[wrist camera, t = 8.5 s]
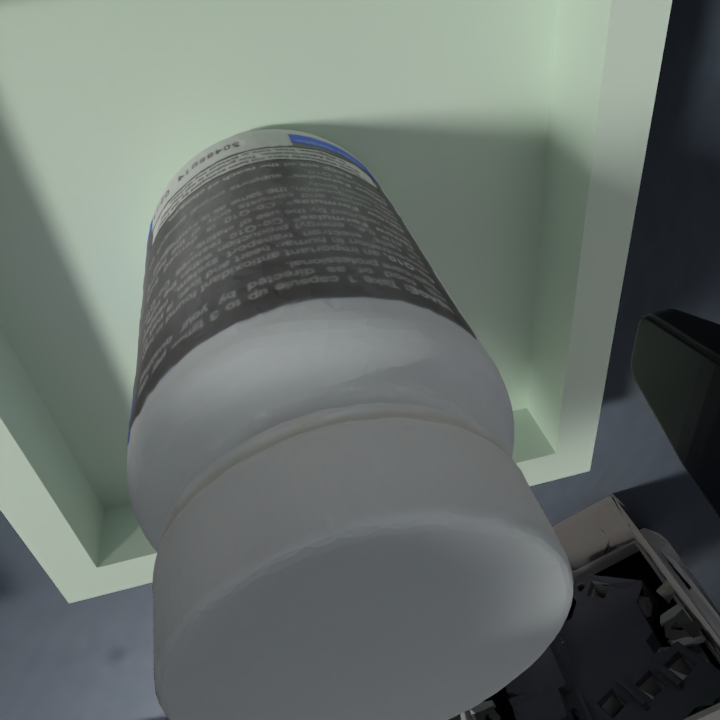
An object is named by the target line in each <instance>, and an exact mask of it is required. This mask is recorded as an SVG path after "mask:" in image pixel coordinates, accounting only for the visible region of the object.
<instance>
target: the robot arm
mask: <svg viewBox="0 0 720 720" xmlns="http://www.w3.org/2000/svg"><path fill="white" fill-rule="evenodd" d="M631 370H632V374H633V377H634V379H635V381H636V383H637V384H638V386H639V388H640V390H641V392H642V393H643V395H644V397H645V399H646V400H647V402H648V404H649V406H650V408H651V409H652V411H653V413H654V415H655V417H656V418H657V420H658V422H659V424H660V426H661V427H662V429H663V431H664V433H665V435H666V436H667V438H668V440H669V442H670V443H671V445H672V447H673V449H674V451H675V452H676V454H677V456H678V457H679V459H680V461H681V462H682V464H683V466H684V467H685V469H686V470H687V472H688V473H689V475H690V476H691V478H692V479H693V480H694V482H695V483H696V485H697V486H698V488H699V489H700V490H701V492H702V493H703V495H704V496H705V497H706V499H707V500H708V502H709V503H710V504H711V506H712V507H713V509H714V510H715V511H716V513H717V514H718V516H719V517H720V324H717V323H714V322H711V321H708V320H705V319H702V318H699V317H696V316H693V315H690V314H687V313H684V312H681V311H679V310H675V309H666V310H662V311H657V312H653V313H649V314H646V315H644V316H643V317H642V318H641V319H640V321H639V324H638V328H637V333H636V338H635V343H634V348H633V352H632V357H631Z"/></svg>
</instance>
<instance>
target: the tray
mask: <svg viewBox="0 0 720 720" xmlns="http://www.w3.org/2000/svg"><path fill="white" fill-rule="evenodd" d="M671 5H672V0H0V510H1V511H2V513H3V514H4V516H5V517H6V518H7V520H8V521H9V522H10V524H11V525H12V526H13V528H14V529H15V531H16V532H17V533H18V535H19V536H20V537H21V539H22V540H23V541H24V543H25V544H26V545H27V547H28V548H29V550H30V551H31V552H32V554H33V555H34V556H35V558H36V559H37V560H38V562H39V563H40V565H41V566H42V567H43V569H44V570H45V571H46V573H47V574H48V575H49V577H50V578H51V580H52V581H53V582H54V584H55V585H56V586H57V588H58V589H59V590H60V592H61V593H62V594H63V596H64V597H65V599H66V600H67V601H68V603H73V602H77V601H81V600H85V599H89V598H92V597H96V596H100V595H104V594H108V593H112V592H116V591H120V590H124V589H128V588H132V587H136V586H140V585H144V584H147V583H151V582H153V571H154V565H155V560H156V556H157V551H156V550H155V549H154V548H153V547H152V546H151V544H150V543H149V541H148V540H147V538H146V537H145V535H144V533H143V531H142V529H141V527H140V525H139V523H138V521H137V519H136V517H135V514H134V511H133V508H132V505H131V501H130V496H129V490H128V478H127V441H128V431H129V421H130V416H131V407H132V398H133V387H134V380H135V375H136V363H137V353H138V351H137V349H138V338H139V322H140V315H141V308H142V299H143V281H144V276H145V262H146V252H147V241H148V235H149V230H150V224H151V221H152V217H153V214H154V211H155V208H156V206H157V203H158V201H159V199H160V197H161V195H162V193H163V191H164V189H165V188H166V186H167V184H168V183H169V182H170V180H171V179H172V178H173V177H174V176H175V175H176V173H177V172H178V171H179V170H180V169H181V168H182V167H183V166H184V165H185V164H186V163H187V162H188V161H189V160H191V159H192V158H193V157H195V156H196V155H197V154H199V153H200V152H201V151H203V150H205V149H206V148H208V147H210V146H212V145H213V144H215V143H217V142H219V141H221V140H224V139H226V138H229V137H231V136H234V135H236V134H240V133H244V132H248V131H252V130H264V129H283V130H294V131H301V132H305V133H309V134H313V135H316V136H318V137H321V138H324V139H326V140H329V141H331V142H333V143H335V144H337V145H338V146H340V147H342V148H343V149H345V150H347V151H348V152H349V153H351V154H352V155H354V156H355V157H356V158H357V159H358V160H360V161H361V162H362V164H363V165H364V166H365V167H366V168H367V169H368V170H369V171H370V172H371V173H372V175H373V176H374V177H375V178H376V180H377V181H378V183H379V184H380V186H381V188H382V189H383V191H384V192H385V194H386V195H387V197H388V198H389V200H390V201H391V203H392V204H393V206H394V208H395V209H396V210H397V211H398V212H399V214H400V215H401V216H402V219H403V221H404V223H405V224H406V226H407V228H408V229H409V231H410V232H411V234H412V235H413V237H414V238H415V240H416V242H417V243H418V245H419V246H420V248H421V249H422V251H423V252H424V254H425V256H426V257H427V259H428V260H429V262H430V264H431V265H432V267H433V268H434V270H435V272H436V273H437V275H438V276H439V278H440V280H441V281H442V283H443V284H444V286H445V287H446V289H447V291H448V292H449V294H450V295H451V297H452V299H453V300H454V302H455V303H456V305H457V307H458V308H459V310H460V311H461V313H462V314H463V316H464V317H465V319H466V320H467V322H468V323H469V325H470V326H471V328H472V329H473V331H474V332H475V334H476V335H477V337H478V339H479V341H480V342H481V344H482V345H483V347H484V348H485V350H486V351H487V353H488V354H489V356H490V357H491V359H492V360H493V362H494V363H495V365H496V366H497V368H498V369H499V372H500V374H501V377H502V379H503V381H504V383H505V386H506V389H507V391H508V394H509V398H510V401H511V405H512V411H513V417H514V446H513V454H512V459H513V461H514V462H515V463H516V465H517V466H518V467H519V468H520V470H521V471H522V473H523V475H524V477H525V479H526V481H527V483H528V485H529V486H533V485H537V484H541V483H545V482H548V481H552V480H556V479H560V478H564V477H568V476H572V475H576V474H580V473H584V472H588V471H590V467H591V461H592V456H593V450H594V444H595V439H596V433H597V427H598V421H599V416H600V410H601V404H602V399H603V393H604V387H605V382H606V376H607V370H608V364H609V359H610V353H611V347H612V342H613V336H614V330H615V325H616V319H617V313H618V307H619V302H620V296H621V290H622V285H623V279H624V273H625V268H626V262H627V256H628V250H629V245H630V239H631V233H632V228H633V222H634V216H635V211H636V205H637V199H638V193H639V188H640V182H641V176H642V171H643V165H644V159H645V154H646V148H647V142H648V136H649V131H650V125H651V119H652V114H653V108H654V102H655V97H656V91H657V85H658V79H659V74H660V68H661V62H662V57H663V51H664V45H665V40H666V34H667V28H668V22H669V17H670V11H671Z"/></svg>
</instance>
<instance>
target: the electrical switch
mask: <svg viewBox="0 0 720 720" xmlns="http://www.w3.org/2000/svg"><path fill="white" fill-rule="evenodd" d="M612 496H613V495H612ZM613 498H614V497H613ZM614 499H615V498H614ZM615 501H616V503H617V505H618V507H619V509H620V510H619V509H618V507H617V506H616V504H615V502H614V501H613V499H612V498H611V496H608V497H606V498H604V499H602V500H600V501H599V502H597V503H595V504H593V505H591V506H589V507H587V508H585V509H584V510H582V511H580V512H578V513H576V514H574V515H572V516H570V517H569V518H567V519H565V520H563V521H561V522H559V523H557V524H555V525H554V526H552V528H553V530H554V531H555V533H556V535H557V537H558V539H559V541H560V543H561V545H562V547H563V548H564V550H565V552H566V555H567V558H568V561H569V564H570V566H571V569H572V577H573V599H572V604H571V608H570V610H569V613H568V616H567V618H566V620H565V622H564V624H563V626H562V628H561V630H560V631H559V633H558V634H557V635H556V638H555V639H554V640H553V641H552V643H551V644H550V645H549V646H548V647H547V649H546V650H545V651H544V652H543V654H542V655H541V656H540V657H539V658H538V659H537V660H536V661H535V662H534V663H533V664H532V665H531V666H530V667H529V668H528V669H526V670H525V671H524V672H523V673H521V674H520V675H519V676H518V677H516V678H515V679H514V680H512V681H511V682H510V683H509V684H507V685H506V686H505V687H504V688H502V689H501V690H500V691H498V692H497V693H495V694H494V695H492V696H491V697H489V698H487V699H486V700H484V701H483V702H481V703H480V704H478V705H477V706H475V707H473V708H471V709H469V710H467V711H465V712H463V713H461V714H459V715H457V716H455V717H453V718H451V719H449V720H720V611H719V609H718V608H717V607H716V605H715V604H714V603H713V601H712V600H711V599H710V597H709V596H708V595H707V593H706V592H705V591H704V589H703V588H702V587H701V585H700V584H699V583H698V581H697V580H696V579H695V577H694V576H693V575H692V573H691V572H690V571H689V569H688V568H687V567H686V565H685V564H684V563H683V561H682V560H681V559H680V558H679V555H678V554H677V553H676V551H675V550H674V548H673V547H672V546H671V544H670V543H669V542H668V541H667V540H666V539H665V538H664V537H663V536H662V535H660V534H659V533H656V532H654V531H651V530H649V529H646V528H643V529H641V530H639V529H638V528H637V527H636V525H635V524H634V523H633V521H632V520H631V519H630V517H629V516H628V515H627V514H626V512H625V511H624V510H623V508H622V507H621V506H620V504H619V503H618V502H617V500H616V499H615ZM620 511H621V512H620ZM621 513H622V514H621ZM559 532H560V533H559ZM557 533H558V534H557ZM615 714H616V716H615Z"/></svg>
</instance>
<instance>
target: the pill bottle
mask: <svg viewBox="0 0 720 720" xmlns="http://www.w3.org/2000/svg"><path fill="white" fill-rule="evenodd" d="M137 351H138V353H137V363H136V375H135V380H134V387H133V398H132V407H131V416H130V421H129V431H128V441H127V478H128V490H129V496H130V501H131V505H132V508H133V511H134V514H135V517H136V519H137V521H138V523H139V525H140V527H141V529H142V531H143V533H144V535H145V537H146V538H147V540H148V541H149V543H150V544H151V546H152V547H153V548H154V549H155V550H156V551H157V556H156V560H155V565H154V571H153V582H152V590H153V600H154V680H155V691H156V695H157V698H158V701H159V704H160V706H161V707H162V709H163V711H164V712H165V714H166V716H167V718H168V719H169V720H449V719H451V718H453V717H455V716H457V715H459V714H461V713H463V712H465V711H467V710H469V709H471V708H473V707H475V706H477V705H478V704H480V703H481V702H483V701H484V700H486V699H487V698H489V697H491V696H492V695H494V694H495V693H497V692H498V691H500V690H501V689H502V688H504V687H505V686H506V685H507V684H509V683H510V682H511V681H512V680H514V679H515V678H516V677H518V676H519V675H520V674H521V673H523V672H524V671H525V670H526V669H528V668H529V667H530V666H531V665H532V664H533V663H534V662H535V661H536V660H537V659H538V658H539V657H540V656H541V655H542V654H543V652H544V651H545V650H546V649H547V647H548V646H549V645H550V644H551V643H552V641H553V640H554V639H555V638H556V635H557V634H558V633H559V631H560V630H561V628H562V626H563V624H564V622H565V620H566V618H567V616H568V613H569V610H570V608H571V604H572V599H573V577H572V569H571V566H570V564H569V561H568V558H567V555H566V552H565V550H564V548H563V547H562V545H561V543H560V541H559V539H558V537H557V535H556V533H555V531H554V530H553V528H552V526H551V524H550V522H549V521H548V519H547V517H546V515H545V513H544V512H543V510H542V508H541V506H540V504H539V503H538V501H537V499H536V497H535V495H534V494H533V492H532V490H531V488H530V486H529V485H528V483H527V481H526V479H525V477H524V475H523V473H522V471H521V470H520V468H519V467H518V466H517V465H516V463H515V462H514V461H513V459H512V454H513V446H514V417H513V411H512V405H511V401H510V398H509V394H508V391H507V389H506V386H505V383H504V381H503V379H502V377H501V374H500V372H499V369H498V368H497V366H496V365H495V363H494V362H493V360H492V359H491V357H490V356H489V354H488V353H487V351H486V350H485V348H484V347H483V345H482V344H481V342H480V341H479V339H478V337H477V335H476V334H475V332H474V331H473V329H472V328H471V326H470V325H469V323H468V322H467V320H466V319H465V317H464V316H463V314H462V313H461V311H460V310H459V308H458V307H457V305H456V303H455V302H454V300H453V299H452V297H451V295H450V294H449V292H448V291H447V289H446V287H445V286H444V284H443V283H442V281H441V280H440V278H439V276H438V275H437V273H436V272H435V270H434V268H433V267H432V265H431V264H430V262H429V260H428V259H427V257H426V256H425V254H424V252H423V251H422V249H421V248H420V246H419V245H418V243H417V242H416V240H415V238H414V237H413V235H412V234H411V232H410V231H409V229H408V228H407V226H406V224H405V223H404V221H403V219H402V216H401V215H400V214H399V212H398V211H397V210H396V209H395V208H394V206H393V204H392V203H391V201H390V200H389V198H388V197H387V195H386V194H385V192H384V191H383V189H382V188H381V186H380V184H379V183H378V181H377V180H376V178H375V177H374V176H373V175H372V173H371V172H370V171H369V170H368V169H367V168H366V167H365V166H364V165H363V164H362V162H361V161H360V160H358V159H357V158H356V157H355V156H354V155H352V154H351V153H349V152H348V151H347V150H345V149H343V148H342V147H340V146H338V145H337V144H335V143H333V142H331V141H329V140H326V139H324V138H321V137H318V136H316V135H313V134H309V133H305V132H301V131H294V130H283V129H264V130H252V131H248V132H244V133H240V134H236V135H234V136H231V137H229V138H226V139H224V140H221V141H219V142H217V143H215V144H213V145H212V146H210V147H208V148H206V149H205V150H203V151H201V152H200V153H199V154H197V155H196V156H195V157H193V158H192V159H191V160H189V161H188V162H187V163H186V164H185V165H184V166H183V167H182V168H181V169H180V170H179V171H178V172H177V173H176V175H175V176H174V177H173V178H172V179H171V180H170V182H169V183H168V184H167V186H166V188H165V189H164V191H163V193H162V195H161V197H160V199H159V201H158V203H157V206H156V208H155V211H154V214H153V217H152V221H151V224H150V230H149V235H148V241H147V252H146V262H145V276H144V281H143V299H142V308H141V315H140V322H139V338H138V349H137Z"/></svg>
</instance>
